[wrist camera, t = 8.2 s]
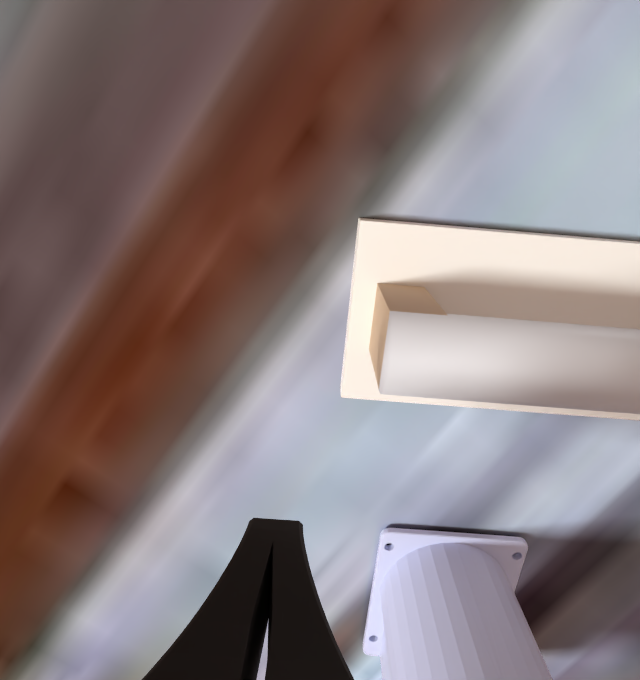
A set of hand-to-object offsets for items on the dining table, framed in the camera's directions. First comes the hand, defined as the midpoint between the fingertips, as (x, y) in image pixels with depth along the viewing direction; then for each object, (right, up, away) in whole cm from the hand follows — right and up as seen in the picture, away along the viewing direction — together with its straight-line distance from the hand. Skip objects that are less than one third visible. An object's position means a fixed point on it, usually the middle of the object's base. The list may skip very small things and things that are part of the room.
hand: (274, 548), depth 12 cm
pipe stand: (+17, +6, +9) cm, 20 cm away
